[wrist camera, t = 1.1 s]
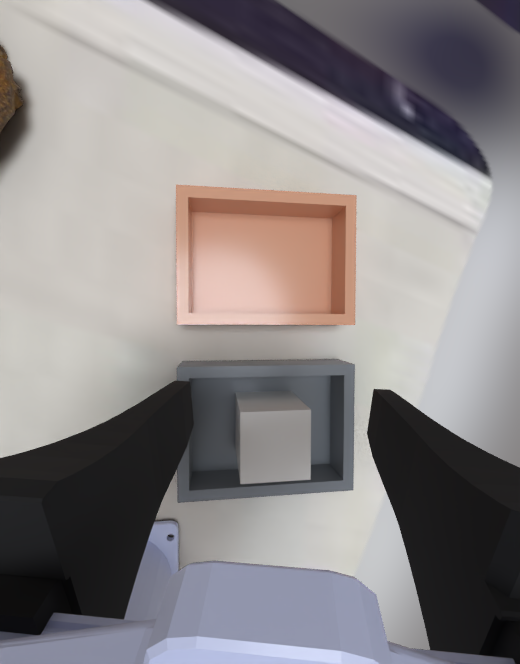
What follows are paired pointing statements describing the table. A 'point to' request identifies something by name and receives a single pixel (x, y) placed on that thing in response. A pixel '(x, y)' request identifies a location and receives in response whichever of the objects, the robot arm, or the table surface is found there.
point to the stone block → (272, 437)
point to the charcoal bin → (219, 425)
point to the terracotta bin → (264, 257)
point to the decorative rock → (7, 91)
